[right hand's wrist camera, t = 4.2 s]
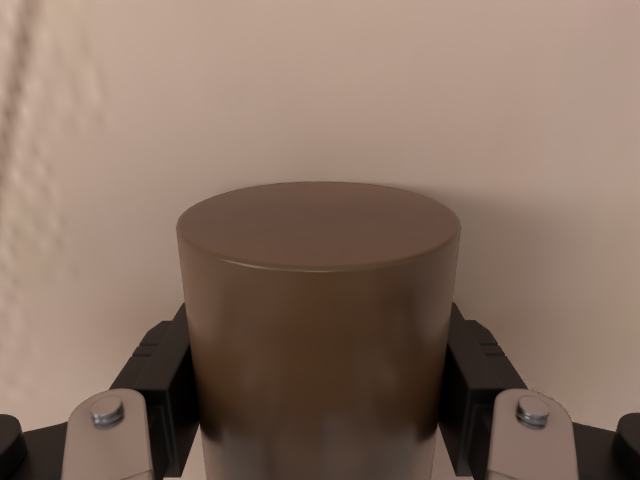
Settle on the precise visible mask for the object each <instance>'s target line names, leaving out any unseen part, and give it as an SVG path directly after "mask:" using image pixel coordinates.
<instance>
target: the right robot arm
mask: <svg viewBox="0 0 640 480" xmlns="http://www.w3.org/2000/svg"><path fill="white" fill-rule="evenodd" d="M199 423H200V420H199V412H198V404H197V396H196V388H195V379H194V371H193V363H192V355H191V347H190V338H189V330H188V322H187V314H186V306H185V303H183V304H182V306H181V307H180V309H179V311H178V312H177V314H176V316H175V317H174V319H173V321H162V322H160V323H159V324H158V325H156V326H155V327H153V328H152V329H151V330H149V331H148V332H147V333H146V335H145V336H144V338H143V339H142V341H141V342H140V344H139V346H138V347H137V348H136V350H135V351H134V353H133V356H132V357H130V359H129V360H128V362H127V363H126V365H125V366H124V368H123V369H122V371H121V372H120V374H119V375H118V377H117V378H116V380H115V381H114V382H113V384H112V385H111V387H110V388H109V390H108V391H104V392H101V393H99V394H96V395H94V396H92V397H90V398H88V399H87V400H85V401H84V402H82V403H81V404H80V405H79V406H78V407H77V408H76V409H75V410H74V411H73V412H72V414H71V415H70V417H69V420H68V422H65V423H62V424H58V425H54V426H50V427H45V428H41V429H36V430H32V431H27V432H22V429H21V425H20V423H19V421H18V419H16V418H15V417H13V416H11V415H7V414H0V480H163V478H164V477H181V476H182V473H183V470H184V467H185V464H186V461H187V458H188V455H189V452H190V450H191V447H192V444H193V441H194V438H195V435H196V432H197V429H198V426H199ZM438 424H439V427H440V430H441V433H442V436H443V439H444V442H445V445H446V448H447V451H448V454H449V457H450V460H451V463H452V466H453V469H454V472H455V475H456V476H473V478H474V480H640V413H630V414H626V415H624V416H623V417H621V418H620V420H619V422H618V425H617V429H616V432H613V431H609V430H604V429H600V428H596V427H591V426H587V425H582V424H578V423H575V422H572V420H571V417H570V415H569V414H568V412H567V411H566V410H565V409H564V408H563V407H562V406H561V405H560V404H559V403H558V402H556V401H555V400H553V399H552V398H550V397H548V396H546V395H544V394H541V393H539V392H536V391H532V390H528V388H527V387H526V385H525V384H524V382H523V380H522V379H521V377H520V376H519V374H518V373H517V371H516V370H515V368H514V367H513V365H512V364H511V362H510V361H509V359H508V358H507V356H505V353H504V352H503V350H502V349H501V347H500V346H498V343H497V341H496V340H495V338H494V337H493V335H492V334H491V332H490V331H489V330H488V329H486V328H485V327H483V326H482V325H481V324H479V323H478V322H476V321H475V320H465V319H464V318H463V316H462V314H461V313H460V311H459V309H458V308H457V306H456V304H455V303H454V302H452V307H451V315H450V324H449V332H448V340H447V349H446V357H445V365H444V374H443V382H442V391H441V399H440V407H439V416H438Z"/></svg>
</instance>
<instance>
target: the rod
mask: <svg viewBox="0 0 640 480" xmlns="http://www.w3.org/2000/svg"><path fill="white" fill-rule="evenodd" d="M176 231H177V240H178V248H179V256H180V265H181V273H182V281H183V289H184V297H185V306H186V314H187V322H188V330H189V338H190V347H191V355H192V363H193V371H194V379H195V388H196V396H197V404H198V412H199V420H200V429H201V437H202V445H203V453H204V461H205V470H206V478H207V480H431V474H432V466H433V458H434V449H435V441H436V433H437V424H438V416H439V407H440V399H441V391H442V382H443V374H444V365H445V357H446V349H447V340H448V332H449V324H450V315H451V307H452V298H453V290H454V282H455V273H456V265H457V256H458V248H459V240H460V231H461V226H460V223H459V219H458V218H457V216H456V215H455V214H454V213H453V212H452V211H451V210H450V209H449V208H447V207H446V206H444V205H442V204H440V203H438V202H436V201H434V200H432V199H429V198H426V197H424V196H421V195H418V194H414V193H411V192H407V191H403V190H398V189H393V188H388V187H382V186H375V185H366V184H356V183H341V182H296V183H281V184H271V185H263V186H256V187H250V188H245V189H239V190H235V191H231V192H227V193H223V194H220V195H217V196H214V197H211V198H208V199H206V200H204V201H201V202H199V203H197V204H195V205H194V206H192V207H190V208H189V209H187V210H186V211H185V212H184V213H183V214H182V215H181V216H180V218H179V220H178V223H177V226H176Z"/></svg>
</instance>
